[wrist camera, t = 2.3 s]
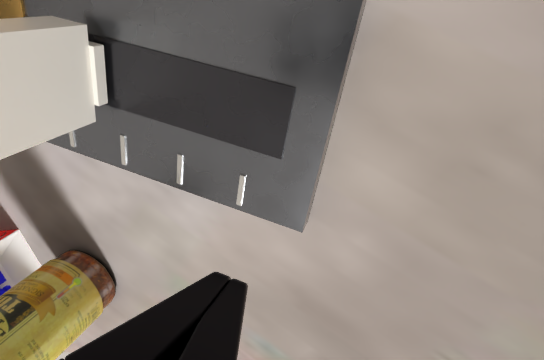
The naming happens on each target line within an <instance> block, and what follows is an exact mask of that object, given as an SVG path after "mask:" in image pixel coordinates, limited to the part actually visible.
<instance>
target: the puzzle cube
mask: <svg viewBox="0 0 544 360" xmlns="http://www.w3.org/2000/svg"><path fill="white" fill-rule="evenodd" d="M40 267H41V264H40V263H39V261H38V259H37V258H36V256H35V255H34V253H33V251H32V250H31V248H30V247H29V245H28V243H27V242H26V240H25V239H24V237H23V235H22V234H21V232H20V231H19V229H17V230H7V231H6V230H5V231H0V296H1V295H2V294H4V293H5V292H6V291H8V290H9V289H11V288H12V287H13V286H15V285H16V284H18V283H19V282H20V281H22V280H23V279H25V278H26V277H27V276H29V275H30V274H32V273H33V272H34V271H36V270H37V269H39V268H40Z"/></svg>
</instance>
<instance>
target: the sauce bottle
mask: <svg viewBox="0 0 544 360" xmlns="http://www.w3.org/2000/svg"><path fill="white" fill-rule="evenodd" d="M114 296H115V284H114V282H113V280H112V278H111V276H110V275H109V273H108V271H107V270H106V268H105V267H104V266H103V265H102V264H101V263H99V262H98V261H97V260H95V259H94V258H93V257H91V256H89V255H87V254H85V253H83V252H79V251H76V250H75V251H73V250H72V251H68V252H65V253H63V254H62V255H60V256H59V257H58V258H56V259H53V260H50V261H48V262H47V263H46V264H44V265H43V266H41V267H40V268H39V269H37V270H36V271H34V272H33V273H32V274H30V275H29V276H27V277H26V278H25V279H23V280H22V281H20V282H19V283H18V284H16V285H15V286H13V287H12V288H11V289H9V290H8V291H6V292H5V293H4V294H2V295H1V296H0V360H55V359H56V358H57V357H58V356H59V355H60V354H61V353H62V352H63V351H64V350H65V349H66V348H68V347H69V346H70V345H71V344H72V343H73V342H74V341H75V340H76V339H77V338H78V337H79V336H80V335H81V334H82V333H83V332H84V331H85V330H86V329H87V328H88V327H89V326H90V325H91V324H92V323H93V322H94V321H95V320H96V319H97V318H98V317H99V316H100V315H101V313H102V312H103V309H104V308H105V307H106V306H107V305H108V304H109V303H110V302H111V301H112V299H113V297H114Z"/></svg>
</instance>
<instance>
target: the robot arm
mask: <svg viewBox="0 0 544 360" xmlns="http://www.w3.org/2000/svg"><path fill="white" fill-rule="evenodd" d="M247 289H248V285H247V284H246V283H244V282H242V281H239V280H237V279H231V278H230V277H229V276H226V275H224V274H221V273H219V272H213V273H211V274H210V275H208V276H206V277H204V278H202V279H201V280H199V281H197V282H195V283H194V284H192V285H190V286H188V287H187V288H185V289H183V290H181V291H180V292H178V293H176V294H174V295H173V296H171V297H169V298H167V299H166V300H164V301H162V302H160V303H159V304H157V305H155V306H153V307H151V308H150V309H148V310H146V311H144V312H143V313H141V314H139V315H137V316H136V317H134V318H132V319H130V320H129V321H127V322H125V323H123V324H122V325H120V326H118V327H116V328H115V329H113V330H111V331H109V332H108V333H106V334H104V335H102V336H100V337H99V338H97V339H95V340H93V341H92V342H90V343H88V344H86V345H85V346H83V347H81V348H79V349H78V350H76V351H74V352H72V353H71V354H69V355H67V356H66V357H65V360H237V355H238V349H239V342H240V335H241V329H242V322H243V315H244V309H245V302H246V295H247ZM60 360H64V359H60Z"/></svg>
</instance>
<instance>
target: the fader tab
mask: <svg viewBox="0 0 544 360" xmlns="http://www.w3.org/2000/svg"><path fill="white" fill-rule="evenodd" d="M107 103H108V98H107V84H106V71H105V57H104V45H101V44H98V43H94V42H90V41H88V32H87V25H86V24H82V23H78V22H74V21H71V20H67V19H63V18H59V17H55V16H38V17H22V18H6V19H0V160H1V159H4V158H6V157H9V156H11V155H14V154H16V153H19V152H21V151H24V150H26V149H29V148H31V147H34V146H36V145H39V144H41V143H44V142H46V141H49V140H51V139H54V138H56V137H59V136H61V135H64V134H66V133H69V132H71V131H74V130H76V129H79V128H81V127H84V126H86V125H89V124H91V123H94V122H96V116H95V105H96V106H101V105H104V104H107Z"/></svg>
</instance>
